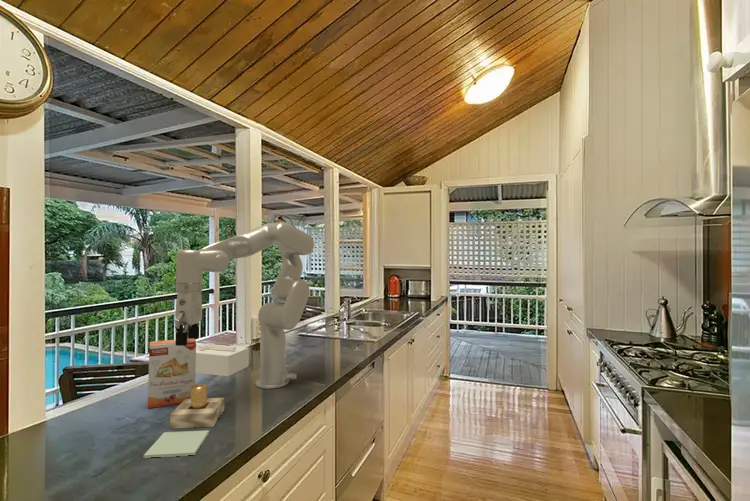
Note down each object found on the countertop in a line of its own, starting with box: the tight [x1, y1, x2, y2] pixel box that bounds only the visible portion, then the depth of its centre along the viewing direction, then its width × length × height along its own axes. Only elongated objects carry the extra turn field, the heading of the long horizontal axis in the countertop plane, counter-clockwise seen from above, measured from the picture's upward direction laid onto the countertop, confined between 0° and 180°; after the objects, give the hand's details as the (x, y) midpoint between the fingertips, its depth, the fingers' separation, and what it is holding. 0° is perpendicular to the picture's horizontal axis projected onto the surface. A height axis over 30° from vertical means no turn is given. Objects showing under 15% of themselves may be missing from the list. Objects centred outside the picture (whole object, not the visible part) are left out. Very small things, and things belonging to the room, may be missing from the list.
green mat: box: [143, 429, 210, 459], centre depth 101 cm, size 12×12×1 cm
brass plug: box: [191, 383, 208, 409], centre depth 117 cm, size 4×4×10 cm
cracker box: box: [147, 338, 197, 409], centre depth 129 cm, size 14×6×21 cm, turn 117°
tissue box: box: [195, 342, 250, 377], centre depth 167 cm, size 14×25×11 cm, turn 75°
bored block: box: [169, 397, 225, 429], centre depth 117 cm, size 12×12×4 cm
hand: (187, 341), depth 122 cm, fingers open, 9 cm apart
